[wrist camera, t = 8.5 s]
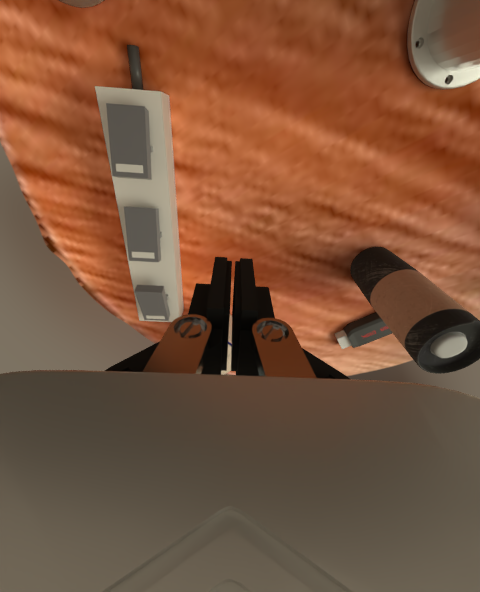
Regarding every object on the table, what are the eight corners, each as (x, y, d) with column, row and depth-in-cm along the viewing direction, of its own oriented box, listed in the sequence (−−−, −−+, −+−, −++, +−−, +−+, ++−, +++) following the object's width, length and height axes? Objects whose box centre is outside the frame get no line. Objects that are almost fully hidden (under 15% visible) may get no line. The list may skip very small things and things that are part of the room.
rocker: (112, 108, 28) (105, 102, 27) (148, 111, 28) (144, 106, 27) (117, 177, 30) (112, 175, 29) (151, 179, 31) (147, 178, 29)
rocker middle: (128, 206, 34) (123, 206, 32) (158, 208, 34) (155, 208, 33) (132, 258, 36) (128, 260, 35) (161, 260, 36) (158, 262, 35)
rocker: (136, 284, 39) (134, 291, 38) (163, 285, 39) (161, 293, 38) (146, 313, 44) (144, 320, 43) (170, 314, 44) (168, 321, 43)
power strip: (101, 44, 28) (78, 30, 24) (166, 50, 29) (154, 37, 25) (145, 307, 48) (137, 323, 44) (183, 309, 48) (178, 325, 44)
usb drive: (398, 321, 51) (405, 331, 49) (340, 345, 55) (345, 354, 52) (392, 303, 49) (399, 312, 47) (332, 329, 52) (336, 338, 50)
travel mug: (351, 290, 47) (415, 381, 30) (345, 254, 43) (415, 335, 26) (395, 277, 45) (489, 364, 28) (393, 238, 41) (500, 313, 24)
